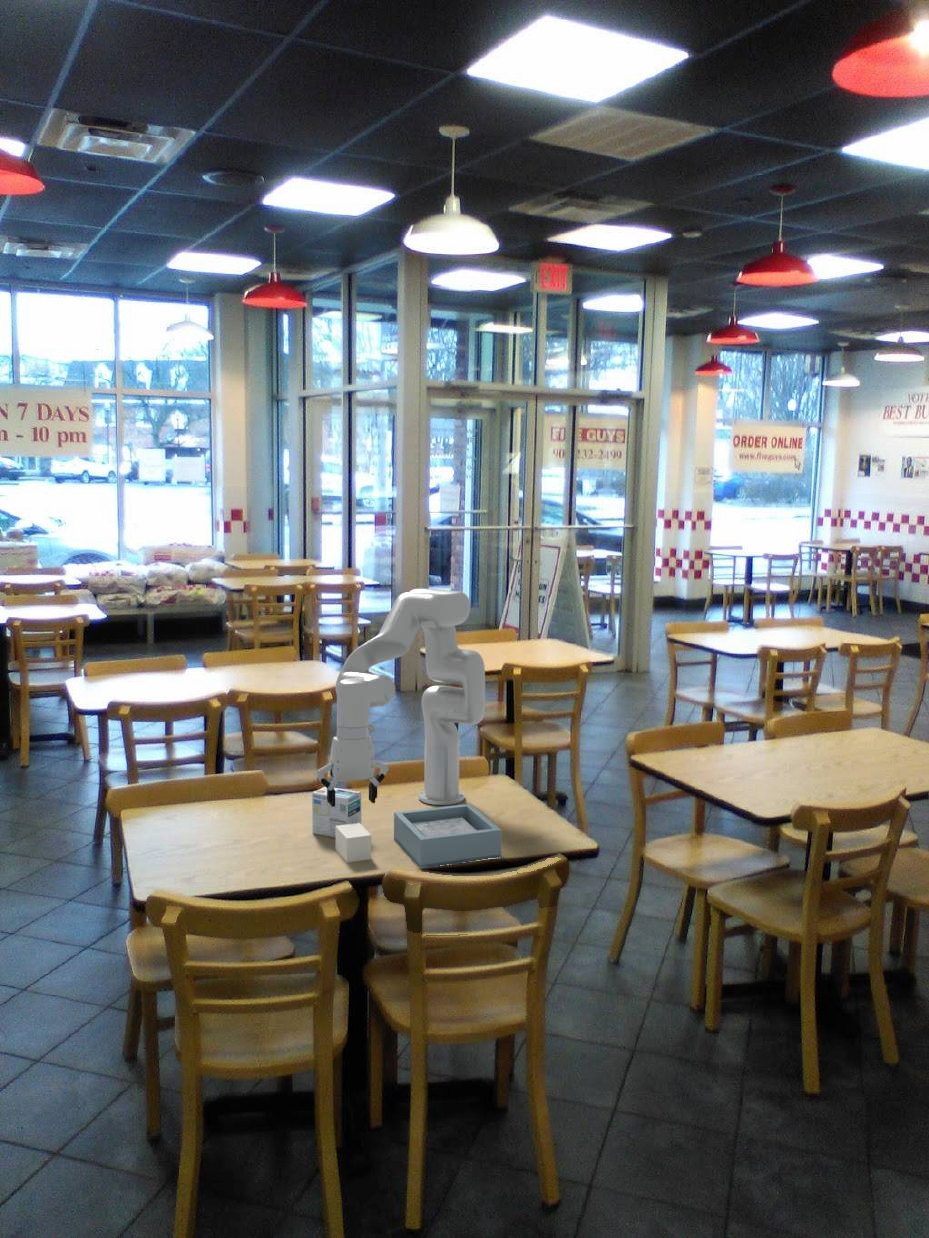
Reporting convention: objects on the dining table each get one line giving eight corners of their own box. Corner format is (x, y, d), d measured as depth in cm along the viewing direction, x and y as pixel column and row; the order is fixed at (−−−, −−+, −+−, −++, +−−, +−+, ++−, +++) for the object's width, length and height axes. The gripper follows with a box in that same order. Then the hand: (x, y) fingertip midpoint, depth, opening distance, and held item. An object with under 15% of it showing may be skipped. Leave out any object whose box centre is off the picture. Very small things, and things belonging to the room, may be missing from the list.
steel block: (412, 838, 261) (412, 823, 261) (461, 832, 266) (461, 817, 265) (429, 857, 249) (430, 841, 249) (481, 850, 254) (481, 834, 253)
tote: (393, 839, 263) (394, 812, 262) (469, 830, 271) (469, 803, 270) (420, 869, 245) (420, 839, 244) (500, 858, 252) (501, 829, 251)
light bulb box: (362, 832, 268) (362, 790, 267) (348, 841, 262) (348, 798, 260) (325, 825, 273) (325, 784, 271) (311, 833, 267) (311, 792, 265)
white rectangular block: (335, 849, 256) (335, 825, 256) (359, 846, 259) (359, 822, 258) (346, 863, 248) (346, 838, 247) (371, 859, 251) (371, 835, 250)
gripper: (383, 726, 256) (382, 795, 258) (312, 730, 249) (312, 802, 251) (393, 733, 249) (392, 804, 251) (320, 738, 242) (319, 811, 245)
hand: (352, 803), depth 251 cm, fingers open, 9 cm apart
